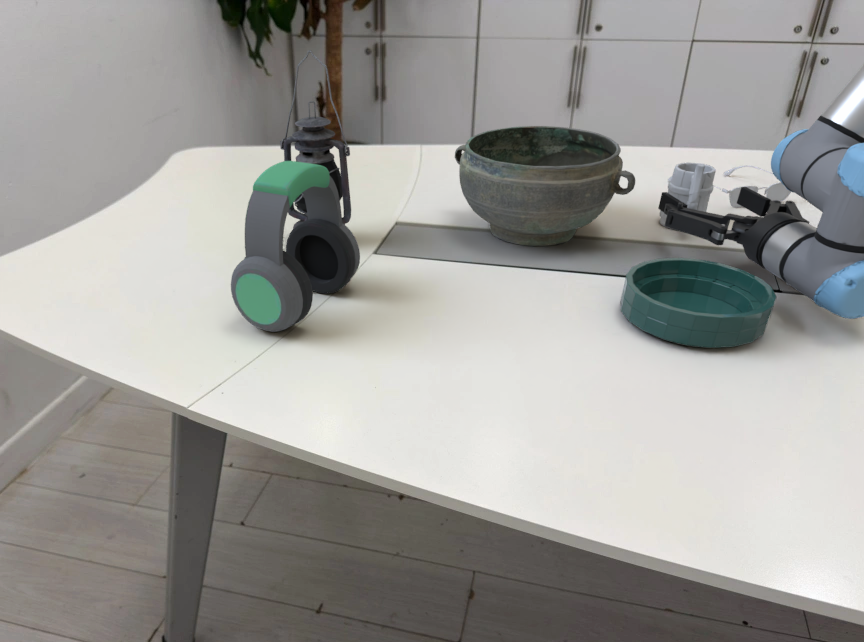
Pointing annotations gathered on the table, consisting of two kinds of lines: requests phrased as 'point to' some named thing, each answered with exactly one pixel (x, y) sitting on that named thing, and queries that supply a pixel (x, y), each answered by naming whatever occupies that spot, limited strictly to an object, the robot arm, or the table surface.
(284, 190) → the headphones
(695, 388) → the table surface
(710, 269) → the dish
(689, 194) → the mug
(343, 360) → the table surface
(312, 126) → the lantern
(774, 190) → the eyeglasses
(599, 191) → the bowl
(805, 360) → the table surface
